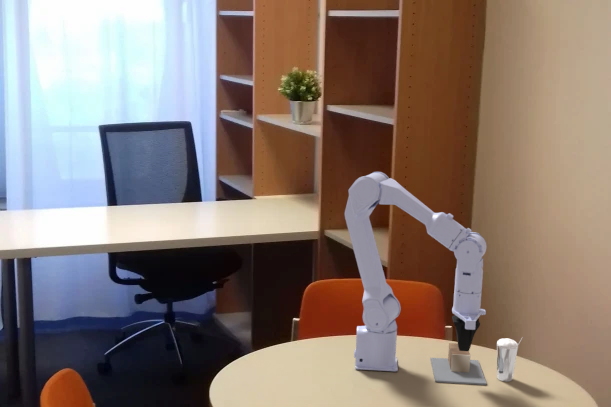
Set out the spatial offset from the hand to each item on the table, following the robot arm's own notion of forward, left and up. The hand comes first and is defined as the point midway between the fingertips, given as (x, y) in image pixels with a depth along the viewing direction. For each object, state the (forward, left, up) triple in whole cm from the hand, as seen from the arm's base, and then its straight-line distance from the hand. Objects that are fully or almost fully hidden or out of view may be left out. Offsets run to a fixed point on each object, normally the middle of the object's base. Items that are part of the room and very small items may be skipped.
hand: (463, 350), depth 160 cm
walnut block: (0, +3, -5) cm, 6 cm away
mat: (0, +4, -7) cm, 8 cm away
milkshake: (+10, +2, -7) cm, 13 cm away
